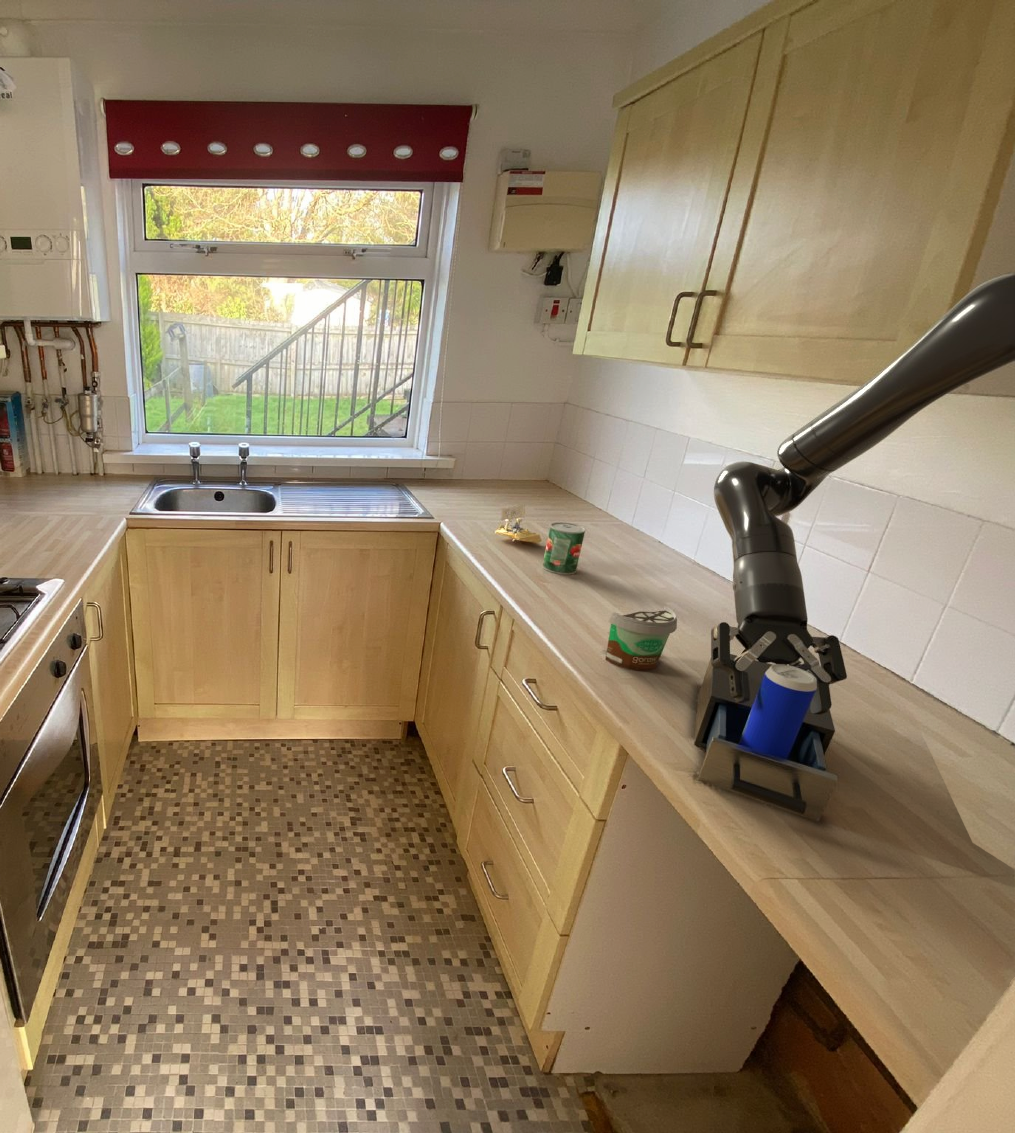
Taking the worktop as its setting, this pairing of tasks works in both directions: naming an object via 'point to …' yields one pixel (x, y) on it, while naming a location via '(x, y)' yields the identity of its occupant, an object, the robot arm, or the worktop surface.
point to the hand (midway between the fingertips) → (781, 707)
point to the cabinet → (719, 691)
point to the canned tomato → (563, 548)
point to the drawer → (767, 766)
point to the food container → (639, 638)
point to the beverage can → (779, 710)
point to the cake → (516, 525)
